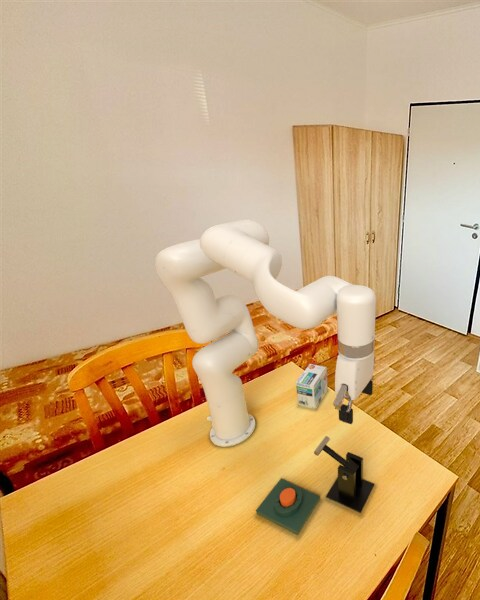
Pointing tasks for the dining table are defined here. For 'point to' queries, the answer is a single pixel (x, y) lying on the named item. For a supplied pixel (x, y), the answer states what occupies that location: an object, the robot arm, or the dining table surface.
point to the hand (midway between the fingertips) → (356, 406)
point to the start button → (287, 497)
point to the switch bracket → (351, 486)
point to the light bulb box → (312, 386)
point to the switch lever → (335, 455)
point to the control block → (292, 515)
